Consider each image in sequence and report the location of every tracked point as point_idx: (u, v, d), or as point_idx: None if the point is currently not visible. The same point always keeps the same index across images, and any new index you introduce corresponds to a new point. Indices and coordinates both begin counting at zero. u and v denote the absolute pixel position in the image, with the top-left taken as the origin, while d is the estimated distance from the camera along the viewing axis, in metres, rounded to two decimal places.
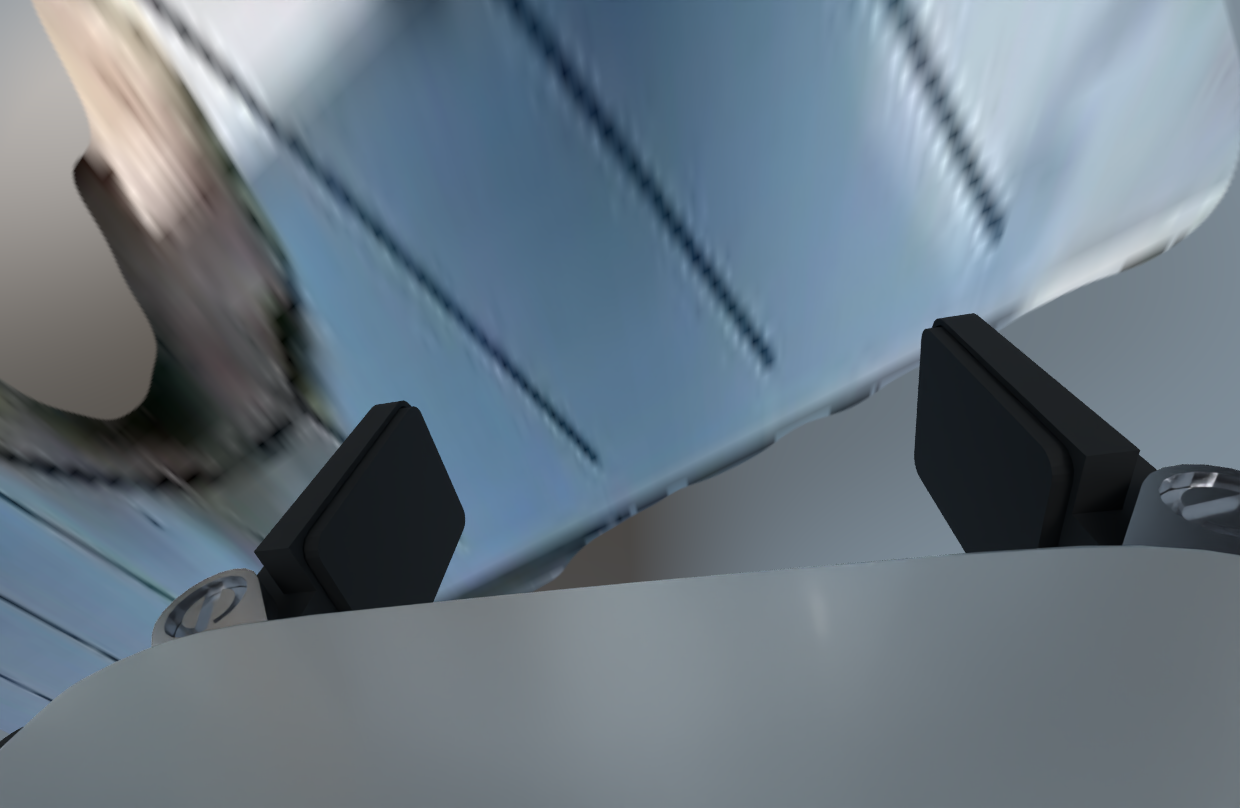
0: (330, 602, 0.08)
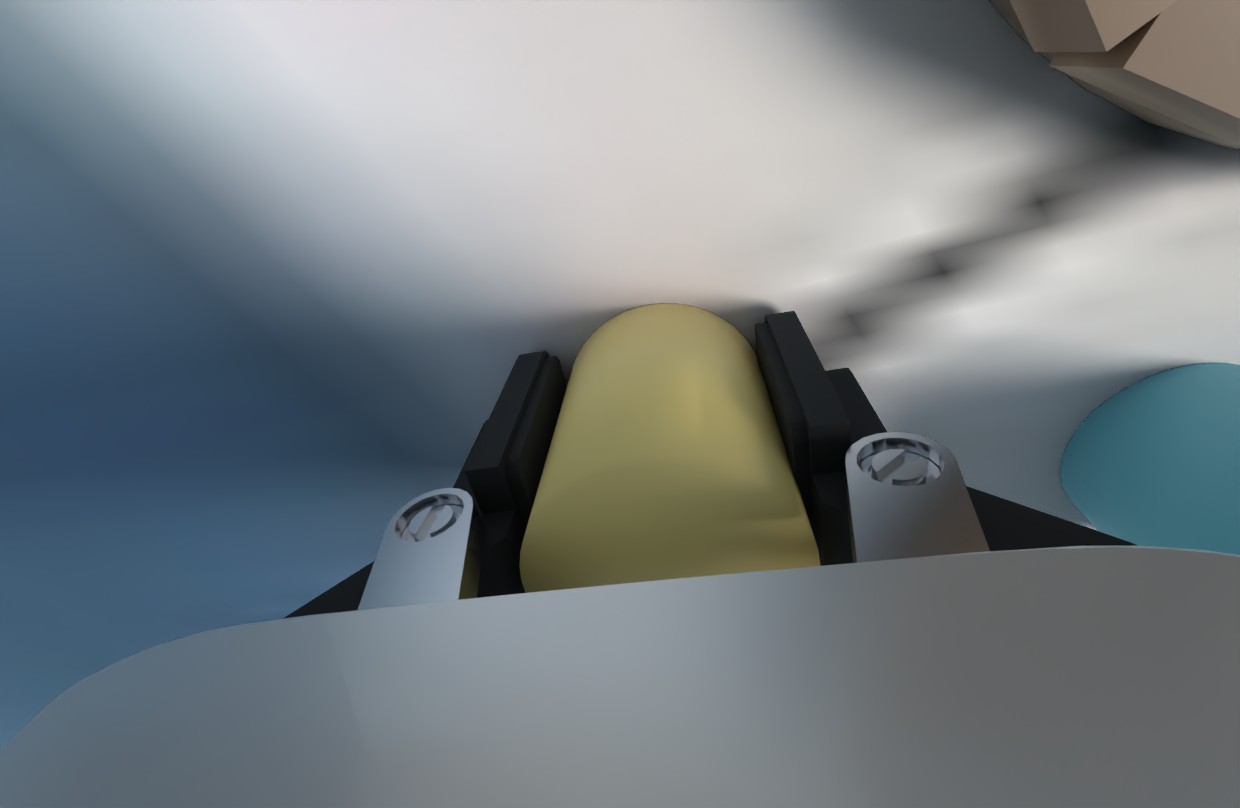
0: (522, 522, 0.09)
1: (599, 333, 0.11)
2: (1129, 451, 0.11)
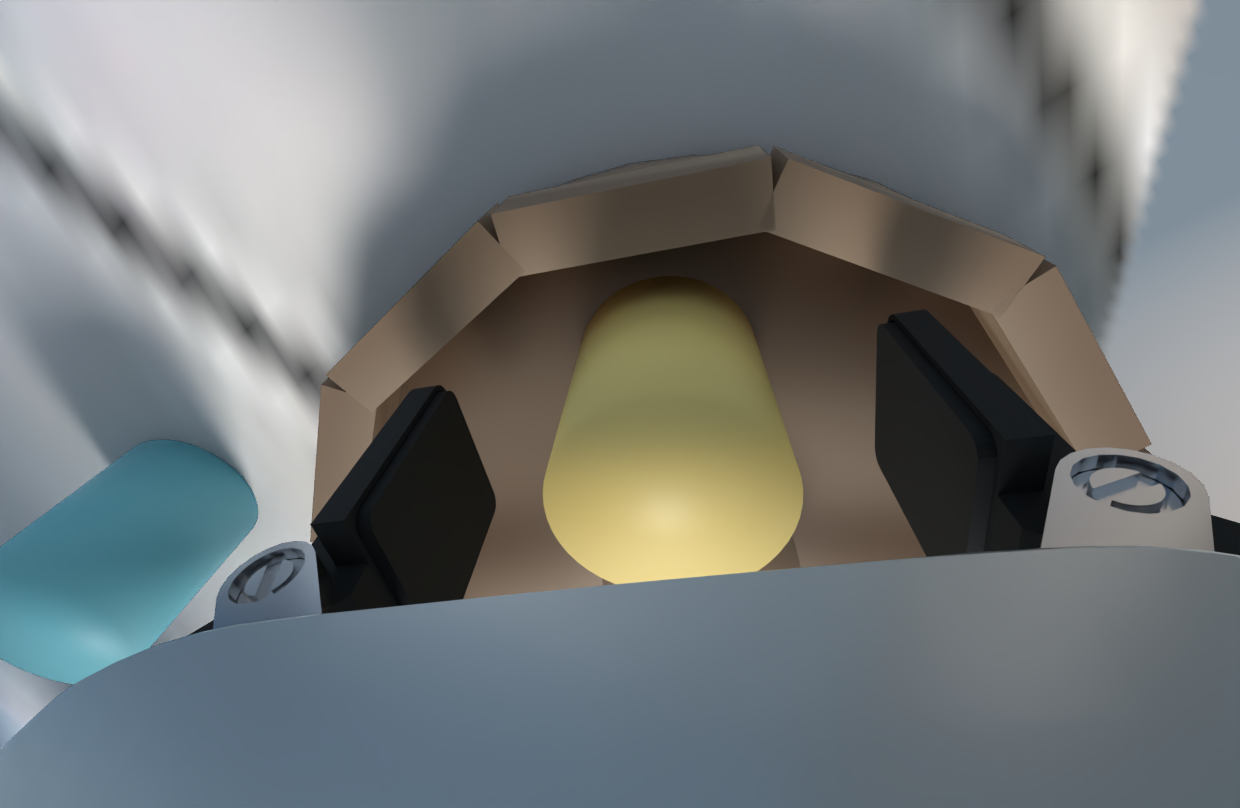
0: (381, 575, 0.08)
1: (608, 303, 0.12)
2: (160, 470, 0.16)
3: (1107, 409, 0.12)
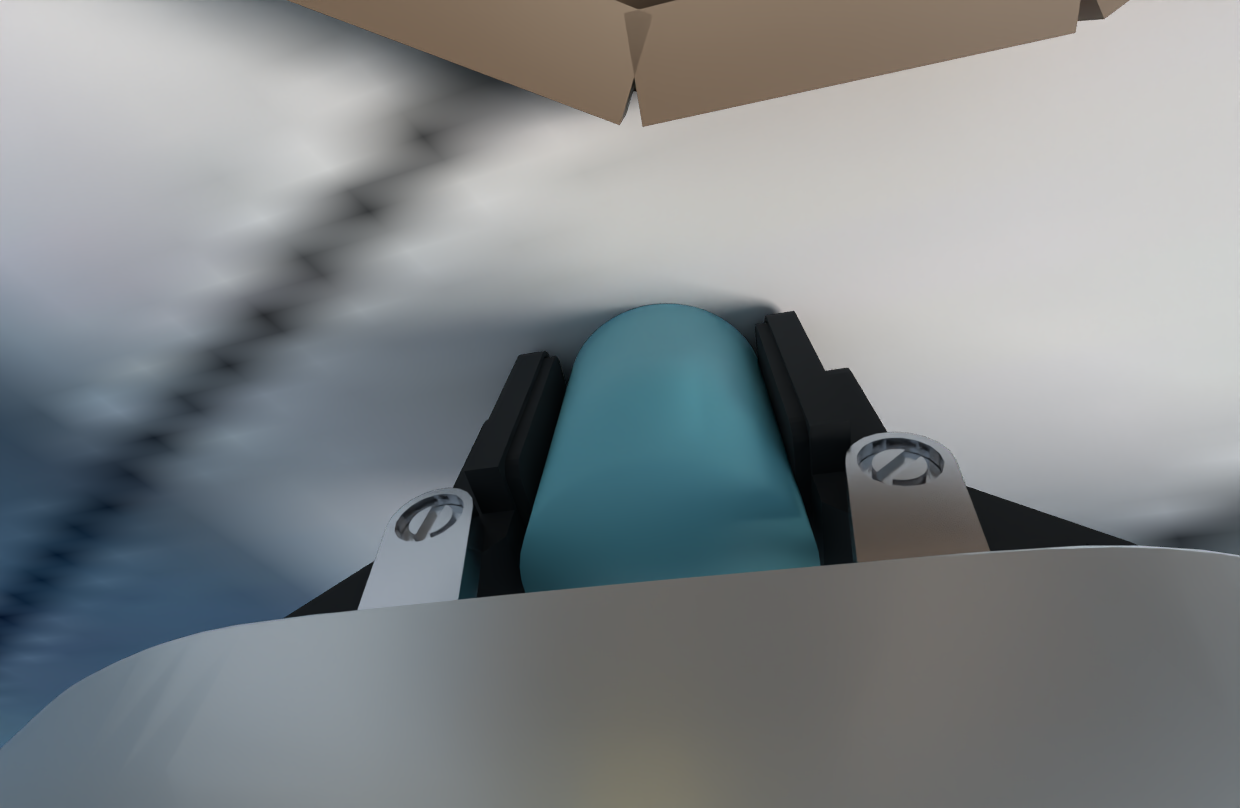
0: (522, 522, 0.09)
1: None
2: (567, 390, 0.11)
3: None
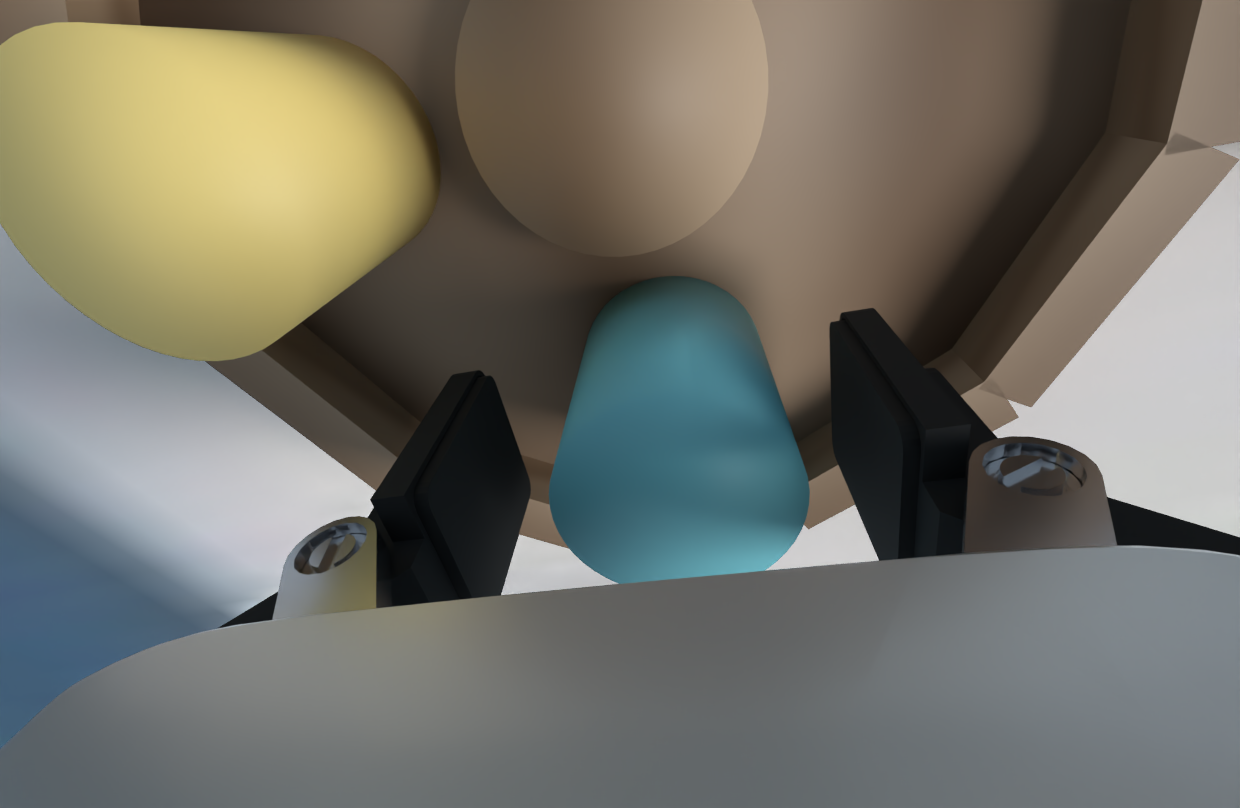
0: (435, 550, 0.09)
1: None
2: (584, 353, 0.12)
3: None
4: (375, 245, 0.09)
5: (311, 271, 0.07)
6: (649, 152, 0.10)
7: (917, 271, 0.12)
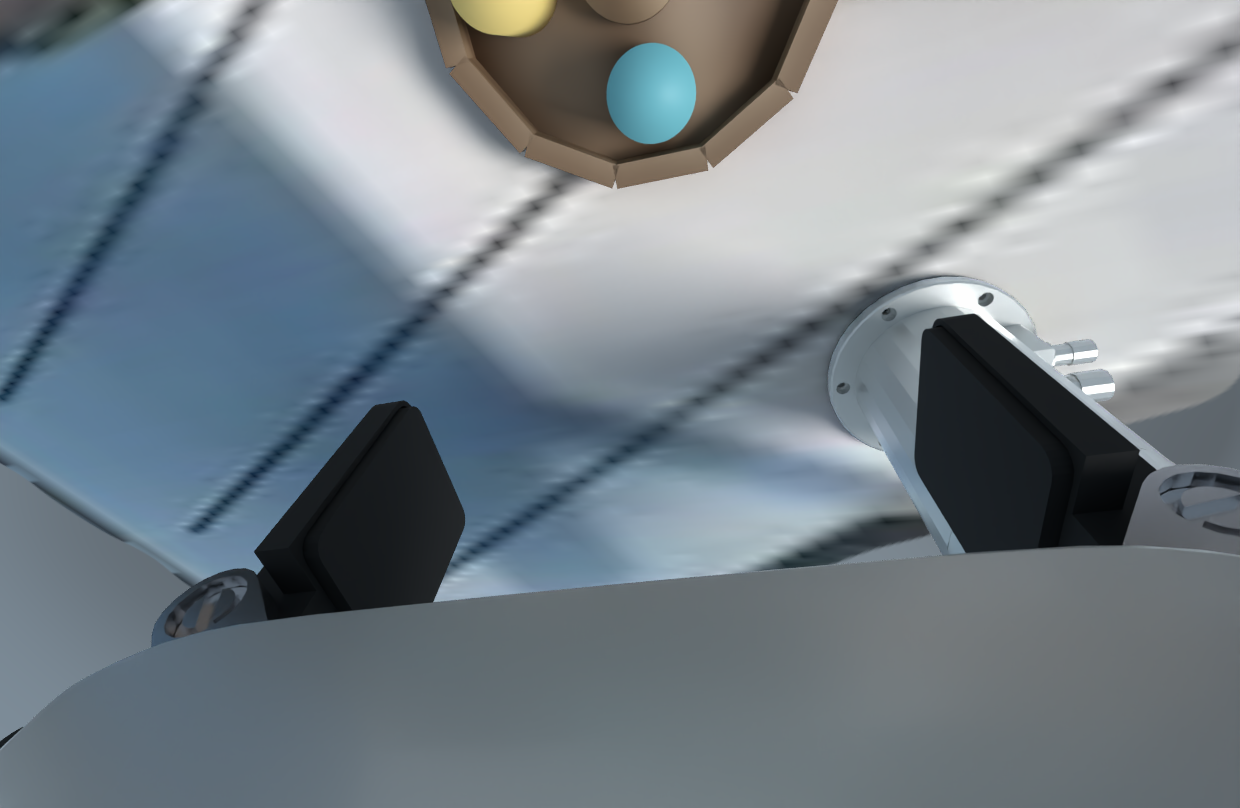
0: (330, 602, 0.08)
1: None
2: None
3: None
4: (543, 8, 0.26)
5: None
6: None
7: (752, 39, 0.29)
